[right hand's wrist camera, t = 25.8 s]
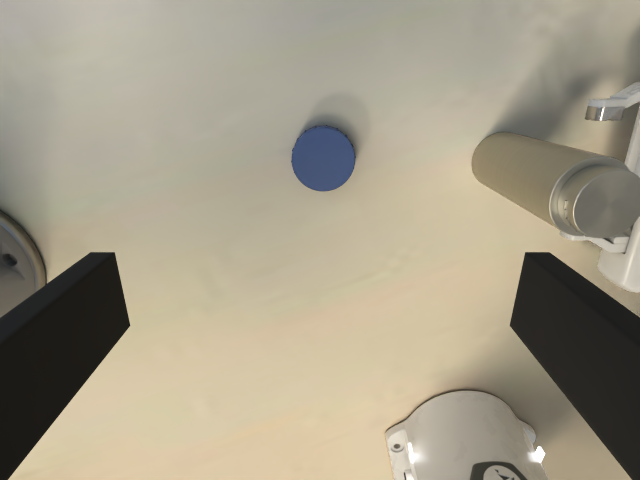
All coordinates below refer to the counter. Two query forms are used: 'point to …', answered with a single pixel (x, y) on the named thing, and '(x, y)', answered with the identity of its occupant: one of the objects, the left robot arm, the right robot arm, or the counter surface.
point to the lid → (323, 158)
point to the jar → (560, 184)
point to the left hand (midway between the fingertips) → (577, 172)
